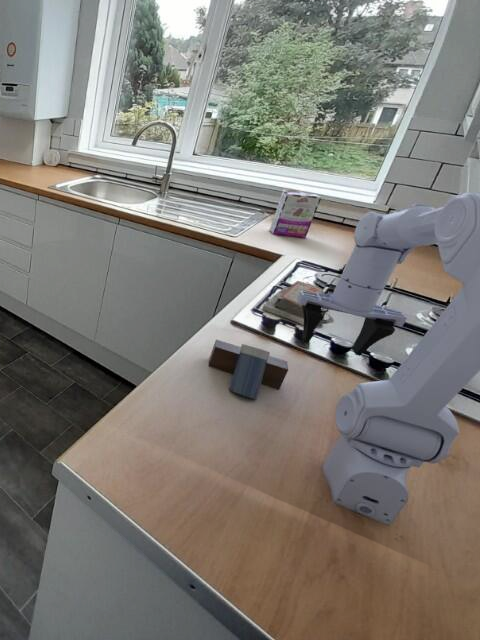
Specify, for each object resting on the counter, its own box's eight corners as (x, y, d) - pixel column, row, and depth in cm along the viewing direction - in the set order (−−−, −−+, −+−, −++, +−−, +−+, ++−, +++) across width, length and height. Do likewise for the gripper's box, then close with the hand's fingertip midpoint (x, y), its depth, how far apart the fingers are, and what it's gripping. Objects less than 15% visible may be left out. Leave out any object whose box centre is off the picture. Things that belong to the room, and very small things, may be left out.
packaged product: (289, 275, 115) (333, 290, 108) (283, 290, 117) (326, 305, 110) (267, 294, 104) (314, 311, 97) (260, 310, 106) (306, 328, 99)
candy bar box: (300, 234, 161) (316, 193, 154) (305, 238, 157) (322, 197, 150) (268, 230, 164) (282, 190, 157) (272, 234, 160) (287, 193, 153)
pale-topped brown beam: (277, 394, 78) (288, 369, 75) (206, 370, 83) (215, 346, 81) (276, 385, 80) (287, 361, 78) (207, 362, 86) (216, 339, 83)
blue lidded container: (254, 410, 74) (274, 365, 70) (227, 400, 76) (244, 356, 72) (253, 384, 80) (271, 342, 76) (227, 375, 82) (243, 334, 78)
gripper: (407, 282, 71) (372, 346, 76) (305, 263, 77) (280, 324, 82) (426, 300, 65) (386, 368, 71) (314, 278, 71) (286, 342, 76)
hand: (330, 345), depth 76 cm, fingers open, 7 cm apart
